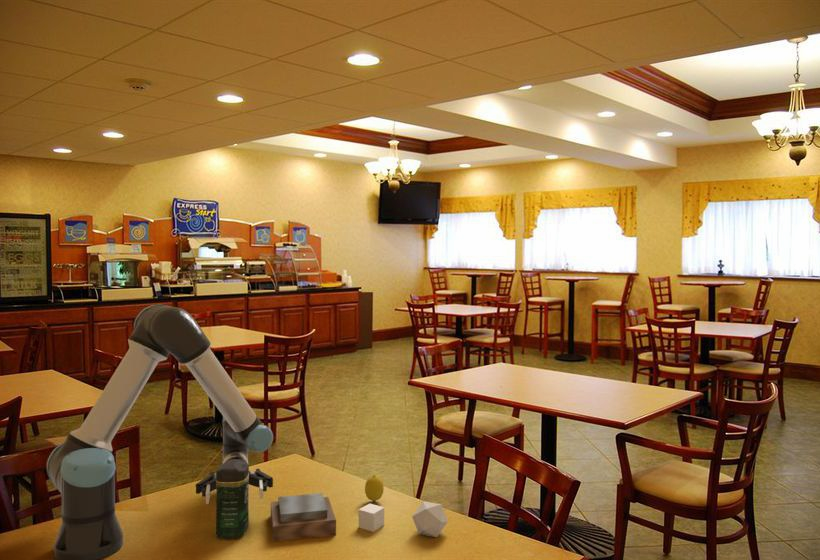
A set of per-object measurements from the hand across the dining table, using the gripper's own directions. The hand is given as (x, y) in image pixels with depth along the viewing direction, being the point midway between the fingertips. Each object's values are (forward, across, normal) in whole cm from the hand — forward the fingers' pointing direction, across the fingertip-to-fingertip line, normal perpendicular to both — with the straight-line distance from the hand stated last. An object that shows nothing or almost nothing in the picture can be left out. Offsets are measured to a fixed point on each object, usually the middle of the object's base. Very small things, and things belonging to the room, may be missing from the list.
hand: (234, 496), depth 161 cm
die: (+12, -49, -10) cm, 52 cm away
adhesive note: (+4, -36, -10) cm, 37 cm away
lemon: (-12, -40, -10) cm, 42 cm away
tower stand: (-1, -18, -10) cm, 20 cm away
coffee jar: (-1, 0, -10) cm, 10 cm away
